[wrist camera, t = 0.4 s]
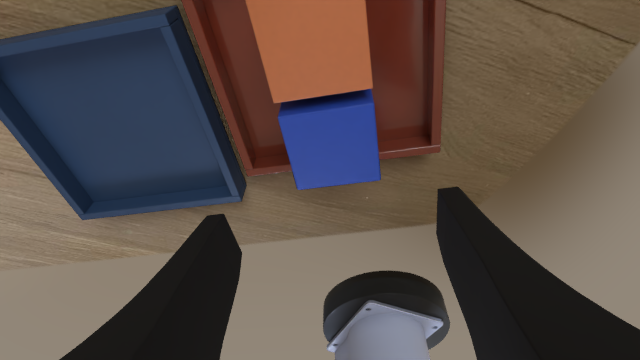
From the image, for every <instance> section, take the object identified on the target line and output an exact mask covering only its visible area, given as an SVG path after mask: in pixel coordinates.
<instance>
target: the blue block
mask: <svg viewBox="0 0 640 360" xmlns="http://www.w3.org/2000/svg"><path fill="white" fill-rule="evenodd" d="M278 121H279V125H280V128H281V132H282V135H283V139H284V143H285V146H286V150H287V154H288V157H289V161H290V164H291V168H292V172H293V175H294V179H295V182H296V186H297V189H298V190H303V189H311V188H319V187H328V186H336V185H344V184H353V183H361V182H370V181H378V180H380V179H381V174H380V162H379V151H378V140H377V128H376V117H375V106H374V100H373V95H372V90H371V89H366V90H359V91H353V92H346V93H340V94H333V95H326V96H320V97H313V98H307V99H300V100H293V101H287V102H281V106H280V110H279V115H278Z"/></svg>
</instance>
